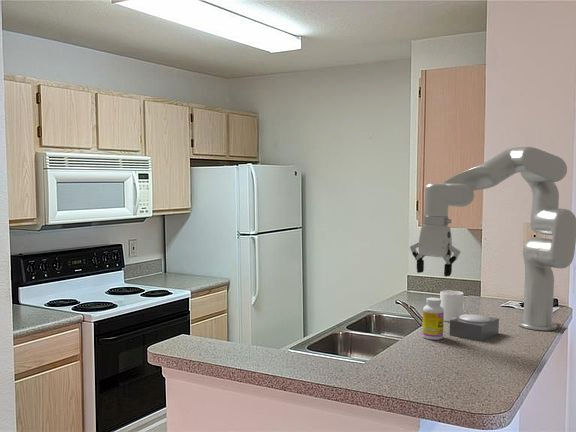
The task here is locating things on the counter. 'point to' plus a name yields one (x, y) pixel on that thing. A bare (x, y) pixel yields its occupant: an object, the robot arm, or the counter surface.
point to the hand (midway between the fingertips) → (433, 274)
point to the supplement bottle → (433, 319)
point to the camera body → (474, 327)
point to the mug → (452, 304)
